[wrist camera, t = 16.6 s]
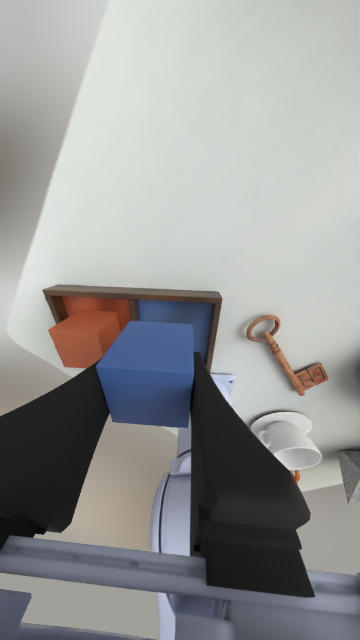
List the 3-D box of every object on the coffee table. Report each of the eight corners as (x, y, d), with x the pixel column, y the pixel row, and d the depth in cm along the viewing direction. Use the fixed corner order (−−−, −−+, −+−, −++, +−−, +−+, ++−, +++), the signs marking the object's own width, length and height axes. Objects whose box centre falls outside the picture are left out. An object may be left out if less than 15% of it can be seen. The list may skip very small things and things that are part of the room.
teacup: (322, 416, 25) (349, 451, 21) (287, 444, 29) (303, 478, 25) (266, 403, 24) (282, 436, 20) (239, 434, 29) (247, 466, 25)
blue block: (188, 370, 13) (188, 428, 9) (136, 366, 13) (112, 422, 9) (192, 323, 11) (193, 373, 7) (130, 320, 11) (94, 366, 7)
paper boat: (402, 458, 27) (380, 494, 29) (350, 427, 32) (334, 460, 34) (399, 501, 20) (370, 544, 22) (335, 454, 26) (316, 493, 28)
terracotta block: (124, 343, 19) (106, 369, 15) (89, 341, 19) (64, 367, 15) (118, 311, 17) (96, 332, 13) (80, 309, 17) (47, 329, 13)
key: (325, 378, 21) (288, 297, 16) (331, 384, 21) (294, 300, 15) (286, 396, 23) (240, 326, 18) (290, 401, 22) (243, 330, 17)
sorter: (218, 291, 16) (222, 297, 14) (208, 361, 21) (210, 373, 19) (58, 284, 17) (41, 289, 15) (82, 353, 22) (72, 364, 20)
